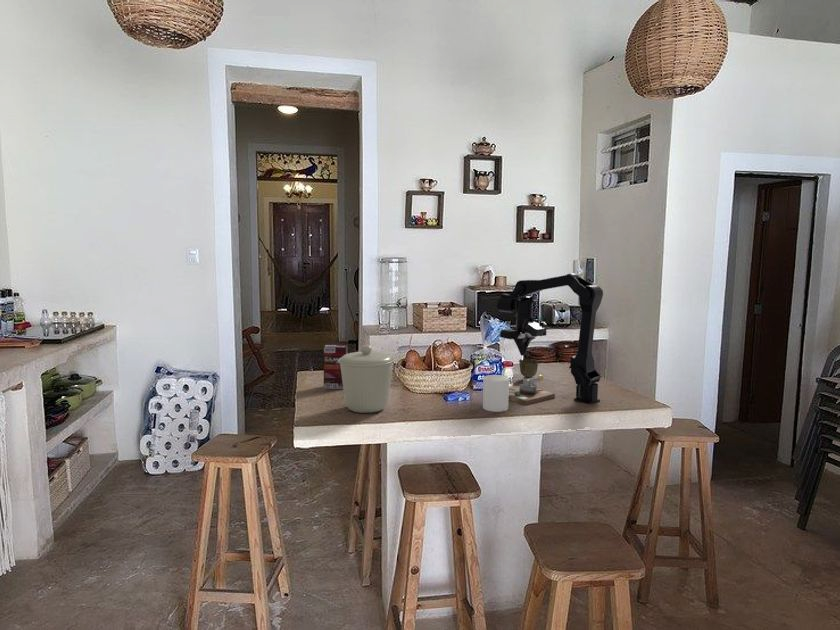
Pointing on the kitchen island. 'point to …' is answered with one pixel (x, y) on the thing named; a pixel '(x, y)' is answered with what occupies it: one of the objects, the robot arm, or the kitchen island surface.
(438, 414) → the kitchen island surface
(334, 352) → the supplement box
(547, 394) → the stand
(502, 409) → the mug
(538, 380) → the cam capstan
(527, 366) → the cup
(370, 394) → the canister
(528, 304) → the robot arm
